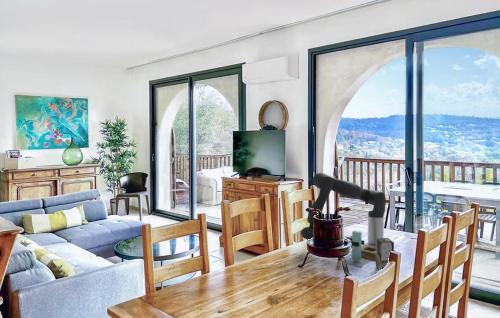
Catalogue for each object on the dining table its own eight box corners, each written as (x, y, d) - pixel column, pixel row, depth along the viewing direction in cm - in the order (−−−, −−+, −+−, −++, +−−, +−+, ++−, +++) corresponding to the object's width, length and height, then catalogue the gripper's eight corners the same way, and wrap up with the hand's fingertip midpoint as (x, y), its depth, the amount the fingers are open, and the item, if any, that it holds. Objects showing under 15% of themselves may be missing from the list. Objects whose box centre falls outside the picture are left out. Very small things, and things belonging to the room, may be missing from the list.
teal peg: (354, 257, 216) (355, 230, 215) (362, 259, 212) (363, 231, 211) (350, 259, 212) (350, 231, 211) (358, 261, 209) (358, 233, 208)
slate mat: (352, 258, 220) (352, 257, 220) (371, 262, 213) (371, 261, 212) (342, 262, 212) (342, 261, 212) (361, 267, 205) (361, 266, 205)
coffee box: (394, 275, 194) (394, 242, 193) (380, 275, 194) (381, 242, 193) (387, 268, 203) (388, 237, 202) (375, 268, 203) (375, 237, 202)
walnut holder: (364, 250, 234) (364, 243, 234) (390, 256, 223) (390, 249, 223) (350, 256, 223) (350, 249, 223) (376, 263, 212) (377, 255, 212)
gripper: (340, 242, 227) (368, 248, 215) (326, 247, 217) (354, 253, 205) (340, 229, 227) (368, 234, 215) (326, 233, 216) (354, 239, 204)
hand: (361, 243), depth 210 cm, fingers closed on teal peg, 4 cm apart
